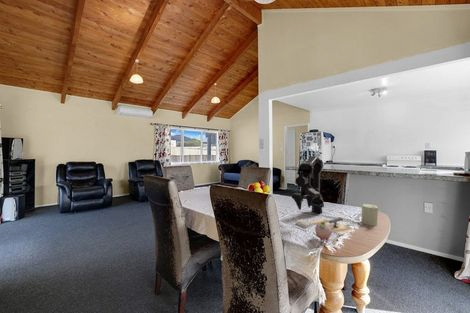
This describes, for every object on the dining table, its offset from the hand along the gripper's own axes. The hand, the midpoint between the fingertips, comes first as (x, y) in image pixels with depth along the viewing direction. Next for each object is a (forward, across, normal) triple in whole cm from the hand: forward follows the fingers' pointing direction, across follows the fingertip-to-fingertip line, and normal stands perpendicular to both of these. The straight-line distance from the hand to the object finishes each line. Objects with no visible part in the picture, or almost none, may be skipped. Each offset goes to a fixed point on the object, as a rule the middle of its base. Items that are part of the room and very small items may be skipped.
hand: (304, 208), depth 136 cm
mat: (+12, 0, 0) cm, 12 cm away
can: (+12, +42, -20) cm, 48 cm away
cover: (+12, 0, 0) cm, 12 cm away
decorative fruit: (+12, -6, -17) cm, 22 cm away
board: (+12, +13, -10) cm, 20 cm away
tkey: (+10, +13, -13) cm, 21 cm away
